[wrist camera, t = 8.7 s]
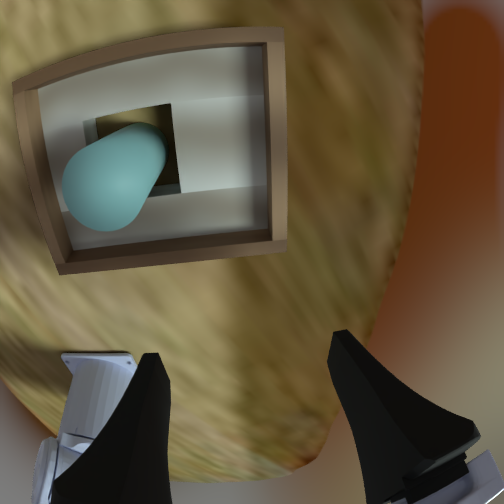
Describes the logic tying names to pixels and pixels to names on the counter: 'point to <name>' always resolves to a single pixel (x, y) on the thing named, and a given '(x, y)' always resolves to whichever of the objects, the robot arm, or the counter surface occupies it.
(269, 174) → the box
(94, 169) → the peg
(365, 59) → the counter surface
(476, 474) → the robot arm
